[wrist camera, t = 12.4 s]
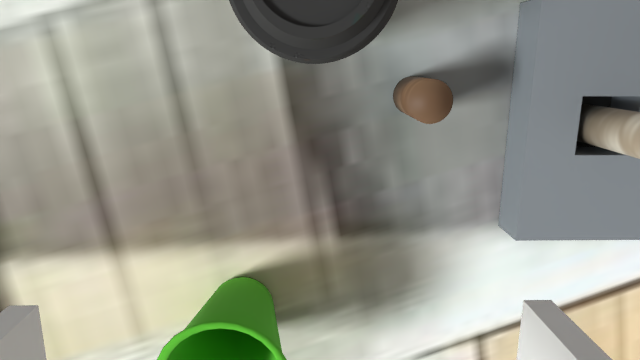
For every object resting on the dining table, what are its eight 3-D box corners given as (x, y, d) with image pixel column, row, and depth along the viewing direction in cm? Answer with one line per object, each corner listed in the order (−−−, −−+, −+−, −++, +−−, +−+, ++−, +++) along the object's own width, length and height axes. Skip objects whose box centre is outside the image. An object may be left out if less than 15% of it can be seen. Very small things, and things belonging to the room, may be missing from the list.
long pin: (566, 103, 38) (708, 126, 25) (602, 104, 39) (763, 127, 25) (560, 140, 39) (695, 181, 26) (596, 140, 39) (749, 182, 26)
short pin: (393, 76, 38) (409, 78, 32) (431, 76, 38) (454, 78, 32) (392, 114, 38) (407, 123, 32) (429, 114, 38) (451, 123, 33)
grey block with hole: (520, 3, 36) (542, -3, 33) (673, 4, 37) (710, -2, 33) (498, 225, 41) (515, 240, 37) (635, 224, 41) (665, 239, 38)
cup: (294, 254, 41) (290, 322, 30) (294, 347, 43) (290, 441, 32) (189, 254, 41) (147, 322, 30) (194, 348, 43) (157, 443, 32)
